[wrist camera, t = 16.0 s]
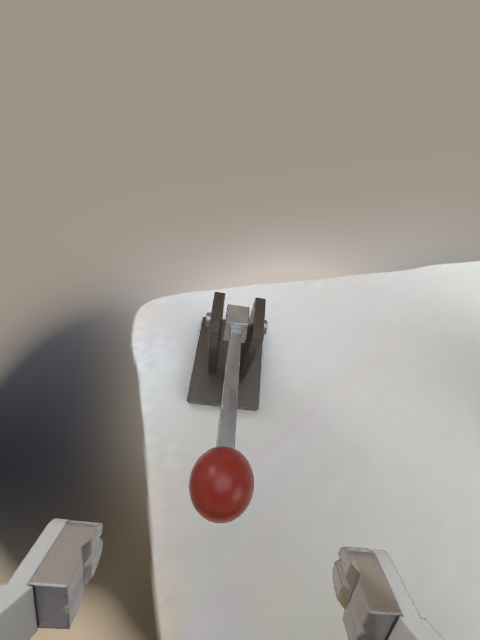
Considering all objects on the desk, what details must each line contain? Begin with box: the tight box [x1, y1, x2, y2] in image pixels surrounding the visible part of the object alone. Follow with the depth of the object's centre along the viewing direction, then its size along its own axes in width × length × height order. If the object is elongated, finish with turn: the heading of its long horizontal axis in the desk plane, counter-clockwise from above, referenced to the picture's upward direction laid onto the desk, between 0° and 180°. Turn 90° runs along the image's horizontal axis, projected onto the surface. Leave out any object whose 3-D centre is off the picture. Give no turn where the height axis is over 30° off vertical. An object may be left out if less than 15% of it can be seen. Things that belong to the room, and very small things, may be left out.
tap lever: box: [189, 304, 254, 523], centre depth 19 cm, size 17×4×4 cm, turn 174°
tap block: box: [187, 292, 267, 411], centre depth 29 cm, size 12×9×14 cm
